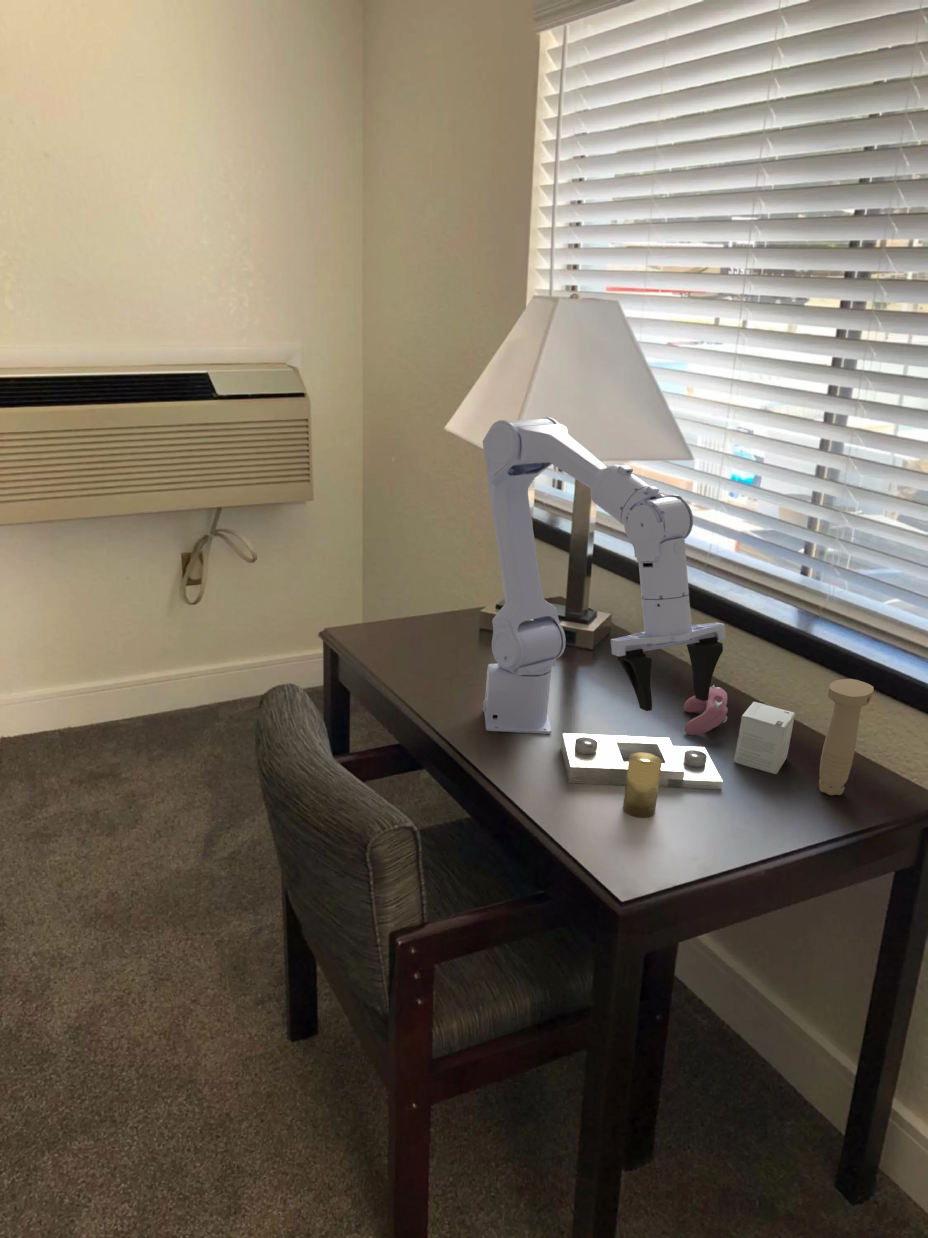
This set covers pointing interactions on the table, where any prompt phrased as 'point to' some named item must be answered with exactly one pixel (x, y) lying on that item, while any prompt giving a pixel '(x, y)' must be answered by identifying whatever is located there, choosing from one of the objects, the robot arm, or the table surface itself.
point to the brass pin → (642, 785)
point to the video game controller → (707, 711)
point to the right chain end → (694, 764)
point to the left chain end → (613, 756)
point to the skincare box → (764, 737)
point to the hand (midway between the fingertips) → (674, 704)
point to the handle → (842, 733)
